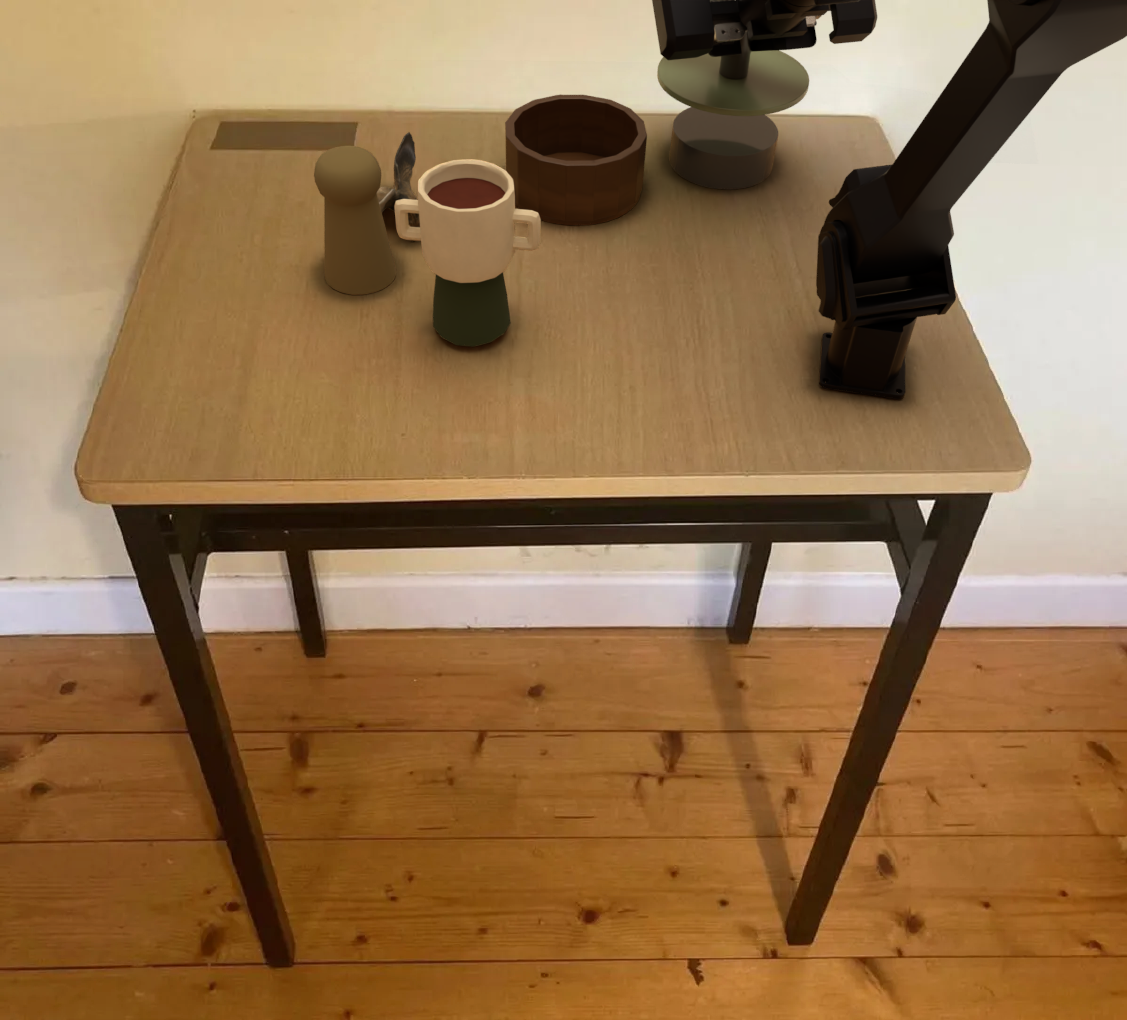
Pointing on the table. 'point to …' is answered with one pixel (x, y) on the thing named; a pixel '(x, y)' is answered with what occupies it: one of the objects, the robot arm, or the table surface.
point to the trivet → (722, 148)
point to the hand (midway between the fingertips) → (730, 47)
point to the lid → (736, 81)
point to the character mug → (468, 245)
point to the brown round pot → (575, 158)
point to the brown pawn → (353, 222)
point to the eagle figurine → (401, 180)
